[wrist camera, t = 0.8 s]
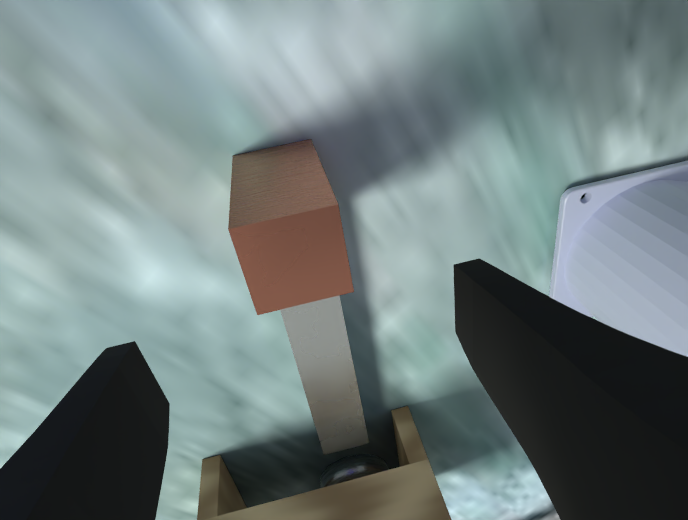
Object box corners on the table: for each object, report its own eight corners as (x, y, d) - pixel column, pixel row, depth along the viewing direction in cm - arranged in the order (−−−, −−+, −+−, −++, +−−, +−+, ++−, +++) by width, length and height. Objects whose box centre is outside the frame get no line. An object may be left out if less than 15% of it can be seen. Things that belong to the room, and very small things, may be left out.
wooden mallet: (310, 139, 17) (338, 204, 12) (367, 421, 27) (395, 524, 22) (232, 155, 17) (228, 229, 12) (317, 434, 26) (334, 542, 21)
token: (383, 443, 28) (390, 466, 27) (390, 484, 31) (397, 507, 29) (312, 462, 28) (316, 486, 27) (325, 501, 30) (329, 525, 29)
